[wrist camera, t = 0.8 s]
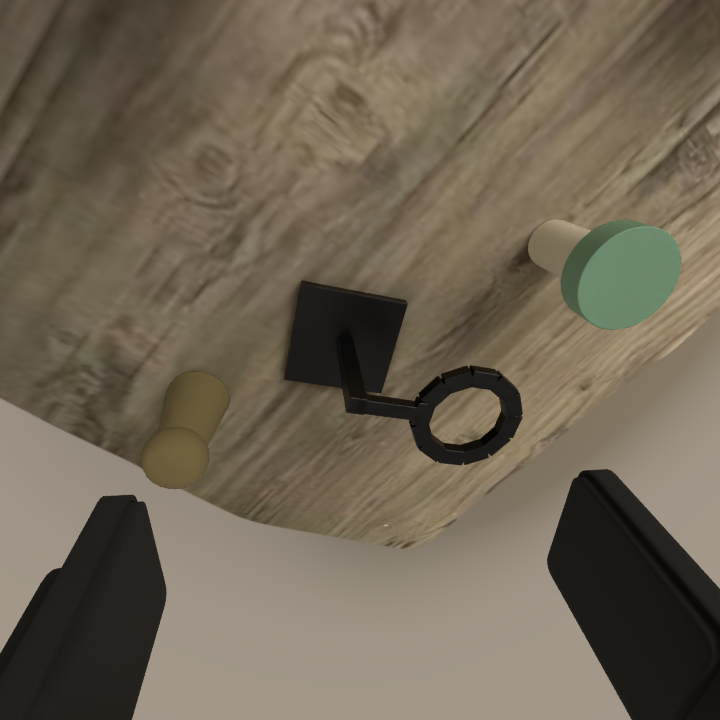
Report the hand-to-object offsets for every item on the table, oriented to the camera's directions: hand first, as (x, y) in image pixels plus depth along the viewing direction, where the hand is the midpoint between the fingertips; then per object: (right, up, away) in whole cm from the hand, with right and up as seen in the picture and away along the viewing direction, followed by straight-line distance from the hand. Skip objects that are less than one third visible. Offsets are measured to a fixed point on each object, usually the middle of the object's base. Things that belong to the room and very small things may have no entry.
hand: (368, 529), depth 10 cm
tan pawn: (-16, 0, +35) cm, 39 cm away
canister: (+18, +15, +32) cm, 39 cm away
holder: (+2, +5, +35) cm, 35 cm away
